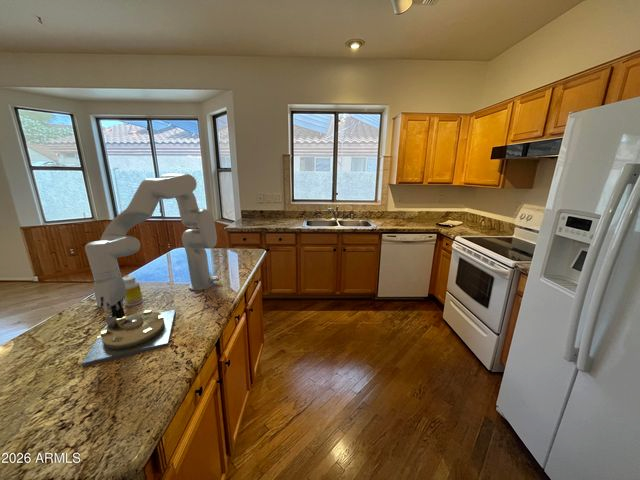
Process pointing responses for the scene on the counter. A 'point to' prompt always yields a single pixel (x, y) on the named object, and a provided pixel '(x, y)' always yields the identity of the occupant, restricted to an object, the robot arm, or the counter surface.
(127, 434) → the counter surface
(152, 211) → the robot arm
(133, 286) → the supplement bottle
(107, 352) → the cap plate
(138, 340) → the notched gold disc
